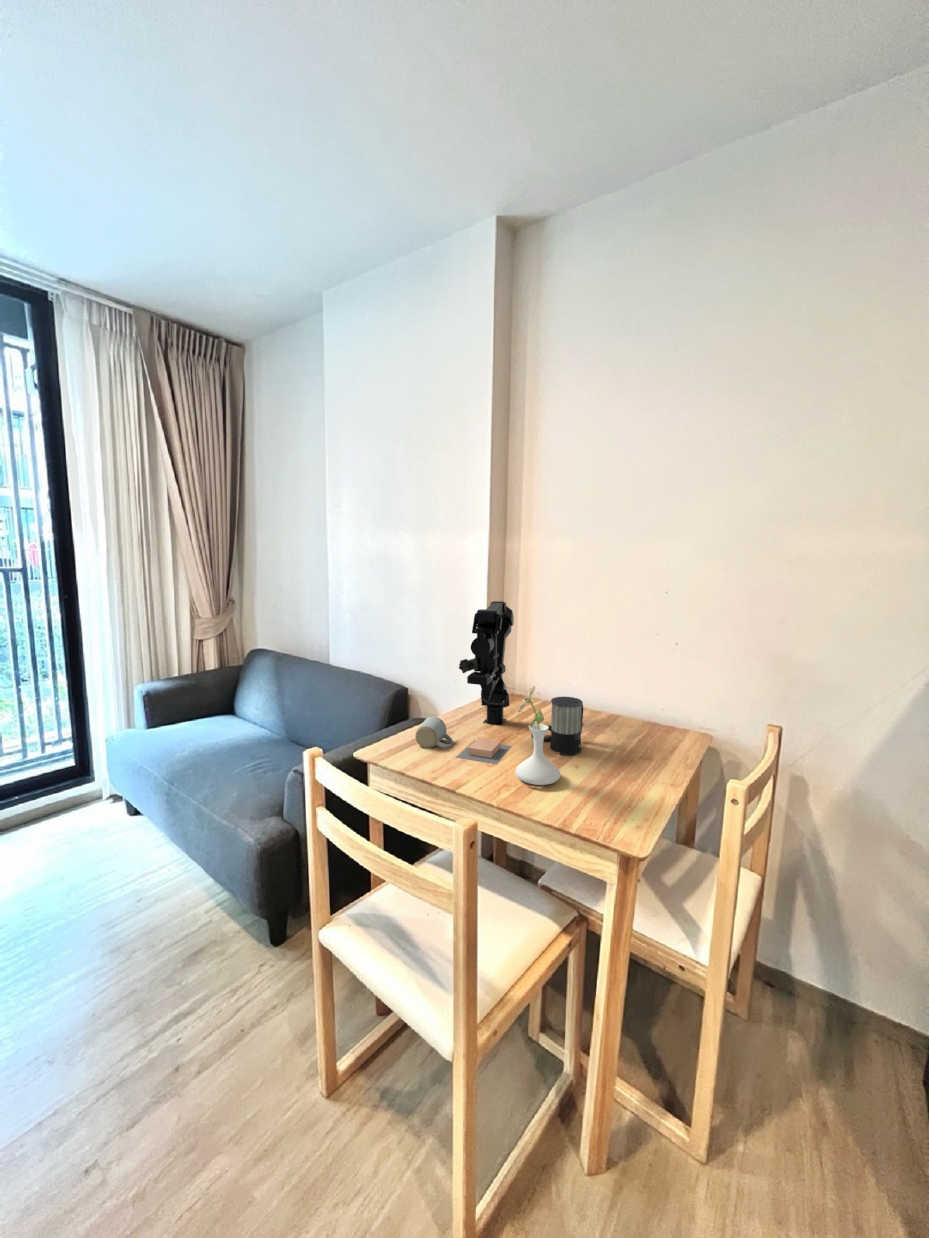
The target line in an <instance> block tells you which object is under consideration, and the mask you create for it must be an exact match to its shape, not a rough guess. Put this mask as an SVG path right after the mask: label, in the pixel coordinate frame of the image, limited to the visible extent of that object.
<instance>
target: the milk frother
mask: <svg viewBox="0 0 929 1238" xmlns="http://www.w3.org/2000/svg"><path fill="white" fill-rule="evenodd" d="M550 702H551V724H550V725H547V724H546V725H547V726H548V727H549V729H548V730H547V731H550V734H551V735H550V736H548V737H544V740H543V743H548V742H550V746H549V749H550V750H552V751H553V752H554V753H555V752H556V753H558V754H559V755H561V756H575V755H578V754H580V753H581V752H582V751H583V750H582V737H581V736H582V733H583V732H582V731H583V719H584V704H583V700H581V699H580V698H578V697H573V696H556V697H552V699H551V700H550ZM530 734H531V739H533V740H534V738H533V734H532V733H530Z"/></svg>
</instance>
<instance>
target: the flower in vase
mask: <svg viewBox="0 0 929 1238" xmlns="http://www.w3.org/2000/svg"><path fill="white" fill-rule="evenodd" d="M535 689H536V686H535V685H531V687H530V689H529V691H528V693H527V695H526V696H525V697H524V699H523V701H522V703H521V704H520V705H519V706H518V709H517V710H516V712H517V713H518V714H520V713H521V712H523V710H524V708H525V707H526V705H527V704H530V705H531V707H532V709H533V712H534V715H533V718H534V719H533V720H532V721H531V723H530V724H529V725H528V728H529V730H530V732H531V734H533V738H534V739H533V738H532V739H533V752H532V755H531V756H529V757H528V758H526V759H524V760H523V761H522V762H521V763H519V764H518V765H516V768H515V771H514V772H515V775H516V777H517V778H518V779H519V780H520V781H522V782H525V784H531V785H536V786H546V785H551V784H554V783H556V782H558V781H559V779H560V778H561V776H562V775H561V774H562V773H561V772H560V769H559V768H558V766H556V765H555V763H554V762H552V761H551V760H549V759H548V758H547V757H546V756H545V754H544V742H543V740H544V738H545V736H546V733H547V731H549V730H548V729H549V727H548V726H549V725H548V726H547V724H544V723H543V721H544V720H545V717H544V714H543V713H542V710H541V709H539V710H538V711H536V708H535V707H534V704H533V702H532V699H531V697H532V695H533V694H534V691H535Z"/></svg>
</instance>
